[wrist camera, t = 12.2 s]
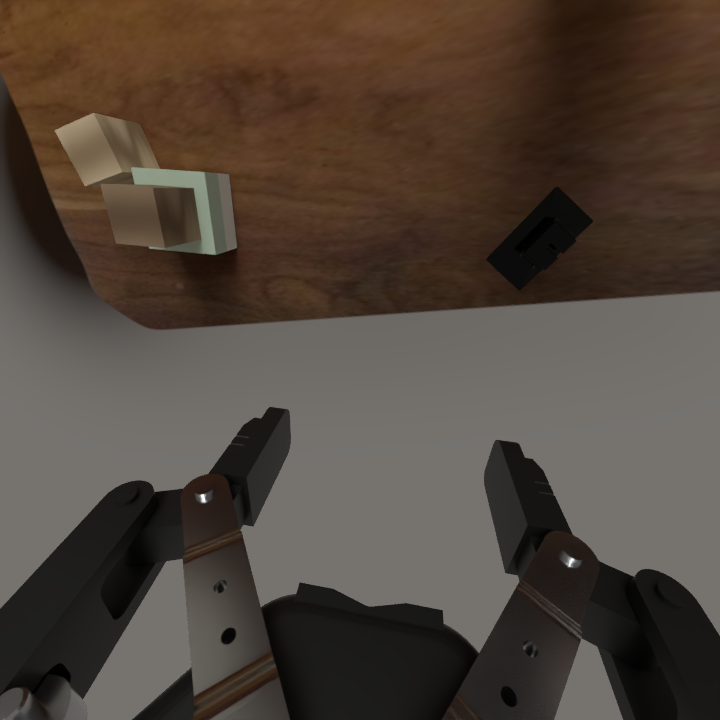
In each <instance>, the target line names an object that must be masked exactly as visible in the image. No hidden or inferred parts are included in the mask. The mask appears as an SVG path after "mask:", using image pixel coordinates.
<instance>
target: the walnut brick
mask: <svg viewBox="0 0 720 720" xmlns="http://www.w3.org/2000/svg"><path fill="white" fill-rule="evenodd" d="M100 185H101V189H102V193H103V197H104V200H105V204H106V208H107V211H108V215H109V219H110V222H111V226H112V230H113V233H114V237H115V241H116V243H117V244H128V245H138V246H149V247H159V248H167V247H172V246H176V245H180V244H184V243H189V242H193V241H197V240H202V239H201V233H200V226H199V220H198V213H197V207H196V200H195V194H194V188H186V187H173V186H160V185H140V184H100Z"/></svg>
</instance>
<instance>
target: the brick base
mask: <svg viewBox="0 0 720 720" xmlns="http://www.w3.org/2000/svg"><path fill="white" fill-rule="evenodd" d="M131 170H132V175H133V179H134V183H135V184H140V185H160V186H173V187H186V188H194V194H195V200H196V207H197V213H198V220H199V226H200V233H201V239H202V240H197V241H193V242H189V243H184V244H180V245H176V246H172V247H167V248H159V247H149V249H159V250H170V251H180V252H190V253H201V254H211V255H217V254H220V253H223V252H226V251H229V250H232V249H235V248H237V243H236V233H235V224H234V215H233V205H232V196H231V187H230V178H229V174H219V173H207V172H193V171H179V170H165V169H150V168H136V167H131Z"/></svg>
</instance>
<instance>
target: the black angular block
mask: <svg viewBox="0 0 720 720" xmlns="http://www.w3.org/2000/svg"><path fill="white" fill-rule="evenodd" d="M592 222H593V220H592V219H591V218H590V217H589V216H588V215H587V214H586V213H585V212H584V211H582V210H581V209H580V208H579V207H578V206H577V205H576V204H575V203H574V202H573V201H572V200H571V199H570V198H569V197H568V196H567V195H566V194H565V193H564V192H563V191H562V190H561V189H559V188H558V187H556V188H555V189H554V190H553V191H552V192H551V193H550V194H549V195H548V196H547V197H546V198H545V199H544V200H543V201H542V202H541V203H540V204H539V205H538V206H537V207H536V208H535V209H534V210H533V211H532V212H531V213H530V214H529V215H528V216H527V218H526V219H525V220H524V221H523V222H522V223H521V224H520V225H519V226H518V227H517V228H516V229H515V230H514V231H513V232H512V233H511V234H510V235H509V236H508V237H507V238H506V239H505V240H504V241H503V242H502V243H501V244H500V245H499V246H498V247H497V248H496V249H495V251H494V252H493V253H492V254H491V255H490V256H489V257H488V258H487V261H488V262H489V263H490V264H491V265H492V266H493V267H495V268H496V269H497V270H498V271H499V272H500V273H501V274H502V275H503V276H504V277H505V278H506V279H507V280H508V281H509V282H510V283H512V284H513V285H514V286H515V287H516V288H517V289H518V290H521V289H522V288H523V287H524V286H525V285H526V284H527V283H528V282H529V281H530V280H532V279H533V278H534V277H535V276H536V275H537V274H538V273H539V272H540V271H541V270H542V269H544V270H546V269H547V268H548V267H549V266H550V265H551V264H552V263H554V262H555V261H556V260H557V259H558V258H557V257H556V256H557V255H558V254H559V253H560V252H561V253H564V252H565V251H566V250H568V249H569V248H570V247H571V246H572V245H573V244H574V243H575V242H576V240H575V238H576V237H577V236H578V235H579V234H580V233H581V232H583V231H584V230H585V229H586V228H587V227H588V226H589V225H590V224H591V223H592Z"/></svg>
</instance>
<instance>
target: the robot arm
mask: <svg viewBox="0 0 720 720" xmlns="http://www.w3.org/2000/svg"><path fill="white" fill-rule="evenodd" d="M290 443H291V434H290V415H289V410H287V409H281V408H274V407H269V408H268V409H267V411H266V412H265V414H264V415H263V417H262V418H261V419H260V418H253V419H252V420H250V421H249V422H248V423H246V424H245V425H243V427H242V428H241V430H240V431H239V432H238V434H237V436H236V437H235V438H234V439H233V440H232V442H231V444H230V445H229V446H228V447H227V449H226V450H225V452H224V453H223V454H222V456H221V457H220V458H219V460H218V461H217V463H216V464H215V465H214V467H213V468H212V470H211V471H210V472H209V474H206V475H202V476H199V477H197V478H195V479H193V480H192V481H190V482H189V483H188V484H187V485H186V486H185V487H184V488H183V489H178V490H169V491H160V492H154V489H153V486H152V485H151V484H150V483H148V482H146V481H131V482H128V483H125V484H122V485H120V486H118V487H116V488H115V489H113V490H112V491H110V492H109V493H108V494H107V495H106V496H105V497H104V498H103V499H102V500H101V501H100V502H99V503H98V504H97V505H96V506H95V508H94V509H93V510H92V511H91V512H90V513H89V514H88V515H87V516H86V517H85V518H84V520H82V521H81V523H80V524H79V525H78V526H77V527H76V528H75V529H74V530H73V531H72V532H71V533H70V534H69V536H68V537H67V538H66V539H65V540H64V541H63V542H62V543H61V544H60V545H59V546H58V547H57V548H56V550H55V551H54V552H53V553H52V554H51V555H50V556H49V557H48V558H47V559H46V560H45V561H44V562H43V563H42V565H41V566H40V567H39V568H38V569H37V570H36V571H35V572H34V573H33V574H32V575H31V576H30V577H29V579H28V580H27V581H26V582H25V583H24V584H23V585H22V586H21V587H20V588H19V589H18V590H17V592H16V593H15V594H14V595H13V596H12V597H11V598H10V599H9V600H8V601H7V602H6V603H5V604H4V606H3V607H2V608H1V609H0V720H87V707H86V704H85V702H84V701H83V698H84V697H85V695H86V693H87V692H88V690H89V688H90V687H91V685H92V683H93V682H94V680H95V678H96V677H97V675H98V673H99V672H100V670H101V668H102V667H103V665H104V663H105V662H106V660H107V658H108V657H109V655H110V653H111V652H112V650H113V649H114V647H115V645H116V643H117V642H118V640H119V639H120V637H121V635H122V633H123V632H124V630H125V629H126V627H127V625H128V624H129V622H130V620H131V619H132V617H133V615H134V614H135V612H136V610H137V609H138V607H139V605H140V604H141V602H142V600H143V599H144V597H145V595H146V594H147V592H148V590H149V589H150V587H151V586H152V584H153V582H154V581H155V579H156V577H157V576H158V574H159V572H160V571H161V569H162V567H163V565H164V564H165V562H166V561H170V560H177V559H183V570H184V581H185V592H186V606H187V617H188V630H189V642H190V655H191V668H190V669H189V670H188V671H187V672H186V673H185V674H183V675H182V676H181V677H180V678H179V679H178V680H177V681H176V682H174V683H173V684H172V685H171V686H170V687H169V688H167V689H166V690H165V691H164V692H163V693H162V694H161V695H160V696H158V697H157V698H156V699H155V700H154V701H153V702H152V703H151V704H149V705H148V706H147V707H146V708H145V709H144V710H143V711H141V712H140V713H139V714H138V715H137V716H136V717H135V718H134V719H132V720H554V718H555V715H556V712H557V709H558V706H559V703H560V700H561V697H562V694H563V691H564V688H565V685H566V682H567V679H568V676H569V673H570V670H571V668H572V664H573V661H574V659H575V656H576V653H577V650H578V647H579V644H580V641H581V638H582V639H584V640H586V641H588V642H590V643H592V644H594V645H596V646H597V647H598V649H599V652H600V655H601V657H602V661H603V664H604V666H605V669H606V672H607V675H608V678H609V680H610V683H611V686H612V689H613V692H614V695H615V697H616V700H617V703H618V706H619V709H620V712H621V715H622V717H623V720H720V636H719V634H718V632H717V631H716V629H715V628H714V626H713V625H712V623H711V622H710V620H709V618H708V617H707V615H706V614H705V612H704V611H703V609H702V607H701V606H700V604H699V603H698V601H697V600H696V599H695V597H694V596H693V595H692V594H691V593H690V592H689V591H688V590H687V589H686V588H685V587H684V586H682V585H681V584H680V583H679V582H677V581H676V580H674V579H673V578H671V577H669V576H667V575H666V574H664V573H661V572H659V571H655V570H651V569H643V570H640V571H639V572H638V573H637V574H636V575H635V577H633V576H630V575H629V574H626V573H624V572H622V571H619V570H617V569H615V568H613V567H610V566H608V565H606V564H604V563H602V562H600V561H598V559H597V557H596V555H595V554H594V553H593V551H592V550H591V549H590V548H589V547H588V546H587V545H586V544H585V543H584V542H583V541H582V540H580V539H579V538H577V537H575V536H574V535H573V534H572V532H571V530H570V528H569V526H568V523H567V521H566V519H565V517H564V515H563V513H562V510H561V508H560V506H559V504H558V502H557V500H556V497H555V496H554V495H553V491H552V489H551V487H550V485H549V482H548V480H547V478H546V476H545V473H544V471H543V470H542V469H541V468H540V467H539V466H538V465H537V463H536V462H535V461H534V460H533V459H528V458H525V457H524V455H523V452H522V450H521V447H520V445H519V444H518V443H515V442H508V441H501V440H496V441H495V442H494V444H493V448H492V450H491V453H490V456H489V459H488V463H487V466H486V469H485V474H484V485H485V489H486V493H487V498H488V502H489V506H490V510H491V514H492V519H493V523H494V527H495V531H496V536H497V540H498V543H499V548H500V552H501V556H502V561H503V565H504V569H505V573H508V574H514V575H518V577H519V581H520V582H519V584H518V585H517V587H516V589H515V590H514V592H513V594H512V596H511V598H510V600H509V601H508V603H507V605H506V607H505V608H504V610H503V612H502V614H501V616H500V617H499V619H498V621H497V623H496V624H495V626H494V628H493V630H492V632H491V634H490V635H489V637H488V639H487V641H486V642H485V644H484V646H483V648H482V649H481V651H480V653H478V652H477V650H476V649H475V648H474V647H473V646H472V645H471V644H470V643H469V642H468V641H467V640H466V639H465V638H464V637H463V636H462V635H460V634H459V633H458V632H457V631H455V630H454V629H452V628H451V627H449V626H447V625H445V624H444V623H443V611H442V610H438V609H432V608H428V607H423V606H418V605H413V604H407V603H405V604H394V605H386V606H385V605H384V606H374V607H368V606H365V605H363V604H362V603H360V602H358V601H355V600H354V599H352V598H350V597H348V596H346V595H344V594H342V593H340V592H338V591H336V590H334V589H330V588H325V587H320V586H315V585H310V584H305V583H299V587H298V590H297V594H293V595H288V596H283V597H280V598H278V599H275V600H273V601H271V602H269V603H267V604H265V605H264V606H262V607H260V603H259V599H258V595H257V591H256V587H255V583H254V579H253V575H252V571H251V567H250V563H249V559H248V555H247V551H246V547H245V543H244V539H243V535H242V532H241V531H240V529H241V527H242V526H243V525H248V526H254V524H255V522H256V520H257V518H258V516H259V513H260V511H261V509H262V507H263V505H264V503H265V501H266V499H267V497H268V495H269V493H270V490H271V488H272V486H273V484H274V482H275V480H276V478H277V476H278V474H279V471H280V470H281V467H282V465H283V463H284V461H285V459H286V457H287V455H288V452H289V449H290Z"/></svg>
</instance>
